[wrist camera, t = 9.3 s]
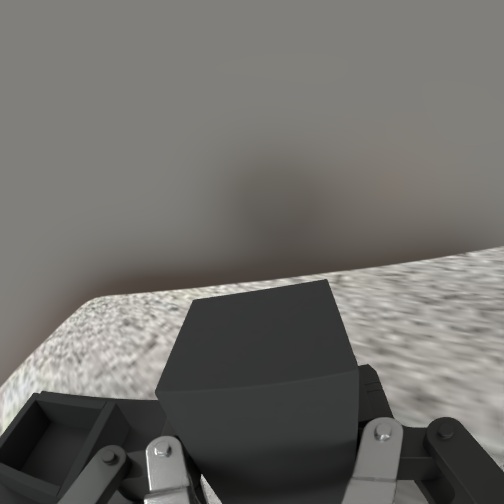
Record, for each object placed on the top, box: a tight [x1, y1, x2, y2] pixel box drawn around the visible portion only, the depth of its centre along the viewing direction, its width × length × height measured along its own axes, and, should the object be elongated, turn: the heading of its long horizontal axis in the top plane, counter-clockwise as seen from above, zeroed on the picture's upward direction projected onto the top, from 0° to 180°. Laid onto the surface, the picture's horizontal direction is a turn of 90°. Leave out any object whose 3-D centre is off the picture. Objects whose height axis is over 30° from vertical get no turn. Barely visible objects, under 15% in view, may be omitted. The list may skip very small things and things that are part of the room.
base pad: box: [0, 391, 167, 504], centre depth 15 cm, size 14×14×4 cm
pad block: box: [155, 279, 359, 504], centre depth 11 cm, size 5×5×10 cm
